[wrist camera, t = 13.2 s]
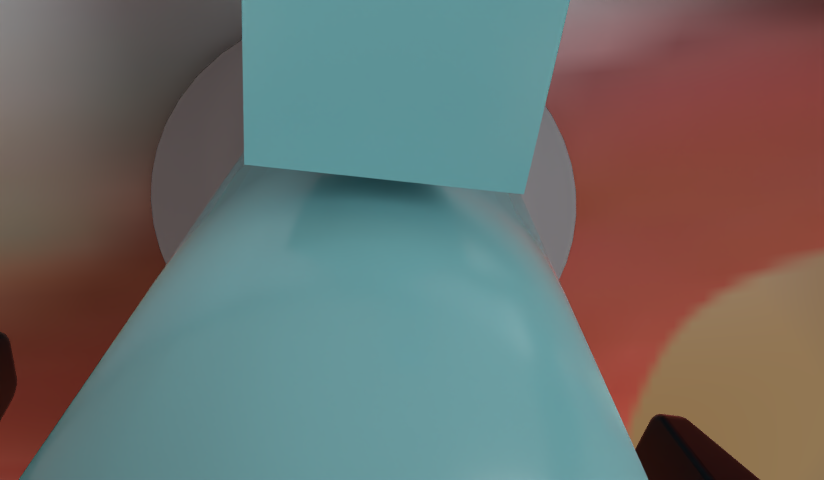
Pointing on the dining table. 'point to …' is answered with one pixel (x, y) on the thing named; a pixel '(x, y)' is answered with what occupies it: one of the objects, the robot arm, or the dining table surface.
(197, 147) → the coaster
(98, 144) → the dining table surface
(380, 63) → the jug
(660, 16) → the dining table surface
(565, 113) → the dining table surface
